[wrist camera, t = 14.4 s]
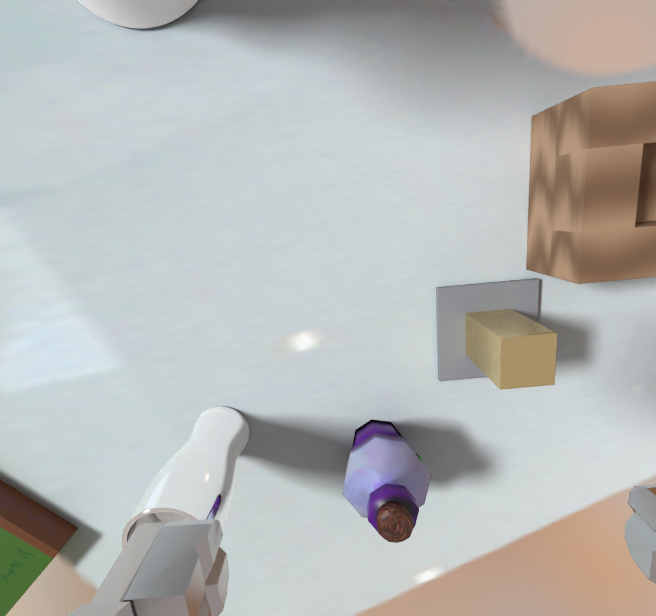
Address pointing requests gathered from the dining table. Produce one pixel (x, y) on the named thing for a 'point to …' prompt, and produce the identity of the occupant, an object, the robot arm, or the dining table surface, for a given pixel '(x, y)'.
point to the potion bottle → (385, 480)
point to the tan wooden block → (511, 348)
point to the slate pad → (475, 299)
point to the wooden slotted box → (594, 186)
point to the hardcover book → (26, 543)
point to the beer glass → (196, 474)
